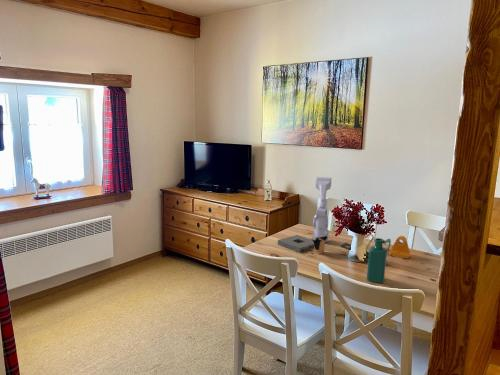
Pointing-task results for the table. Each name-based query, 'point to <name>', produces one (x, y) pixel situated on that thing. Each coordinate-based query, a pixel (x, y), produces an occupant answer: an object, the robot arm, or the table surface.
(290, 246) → the collar
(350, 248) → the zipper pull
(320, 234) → the robot arm
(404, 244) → the orange handbag
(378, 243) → the pitcher
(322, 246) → the tan square post
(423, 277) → the table surface
